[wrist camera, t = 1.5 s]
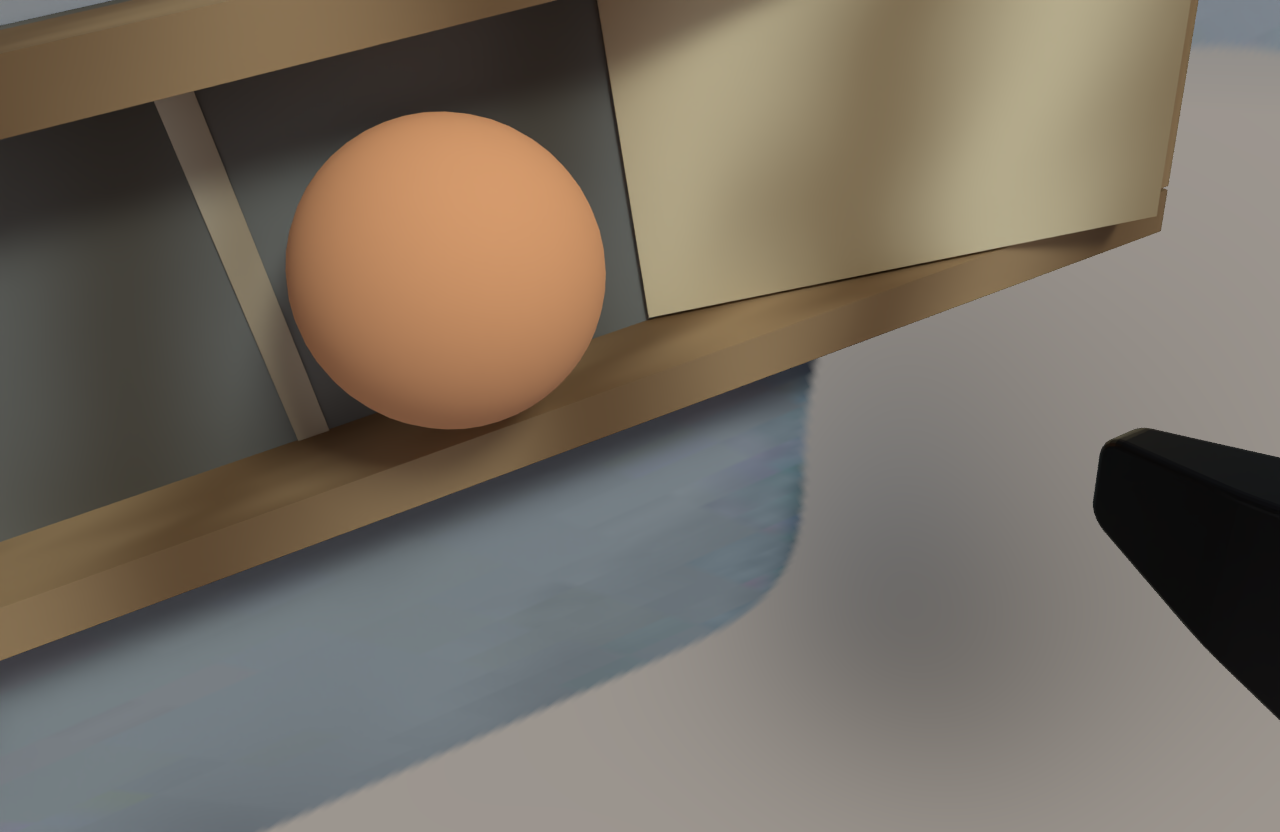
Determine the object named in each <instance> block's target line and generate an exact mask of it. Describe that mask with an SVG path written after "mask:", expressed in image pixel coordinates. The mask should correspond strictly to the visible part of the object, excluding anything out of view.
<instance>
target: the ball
mask: <svg viewBox="0 0 1280 832" xmlns="http://www.w3.org/2000/svg"><path fill="white" fill-rule="evenodd" d="M285 272H286V281H287V289H288V297H289V302H290V306H291V309H292V313H293V316H294V319H295V322H296V324H297V326H298V328H299V331H300V333H301V335H302V337H303V339H304V342H305V344H306V346H307V347H308V349H309V350H310V352H311V353H312V355H313V357H314V358H315V360H316V361H317V363H318V364H319V365H320V366H321V367H322V368H323V370H324V371H325V372H326V373H327V374H328V375H329V376H330V378H331V379H332V380H333V381H334V382H335V383H336V384H337V385H338V386H340V387H341V388H342V389H343V390H344V391H345V392H346V393H348V394H349V395H350V396H351V397H353V398H354V399H356V400H358V401H359V402H361V403H362V404H364V405H365V406H367V407H369V408H370V409H372V410H374V411H376V412H378V413H380V414H382V415H384V416H386V417H388V418H391V419H394V420H397V421H400V422H403V423H406V424H411V425H416V426H421V427H427V428H435V429H467V428H473V427H480V426H484V425H488V424H492V423H496V422H499V421H502V420H504V419H507V418H509V417H512V416H514V415H517V414H519V413H520V412H522V411H524V410H526V409H528V408H530V407H532V406H533V405H535V404H536V403H538V402H539V401H541V400H542V399H544V398H545V397H546V396H547V395H548V394H550V393H551V392H552V391H553V390H554V389H556V388H557V387H558V386H559V385H560V384H561V383H562V382H563V381H564V380H565V379H566V377H567V376H568V375H569V374H570V373H571V372H572V370H573V369H574V368H575V366H576V365H577V364H578V363H579V361H580V360H581V358H582V356H583V355H584V353H585V351H586V350H587V348H588V346H589V344H590V342H591V340H592V337H593V335H594V333H595V331H596V327H597V324H598V321H599V318H600V314H601V310H602V306H603V300H604V294H605V281H606V269H605V258H604V248H603V243H602V239H601V234H600V230H599V227H598V225H597V222H596V219H595V217H594V214H593V211H592V209H591V207H590V205H589V203H588V201H587V199H586V197H585V195H584V194H583V192H582V190H581V188H580V187H579V185H578V184H577V183H576V181H575V180H574V179H573V177H572V176H571V175H570V173H569V172H568V171H567V170H566V169H565V167H564V166H563V165H562V164H561V163H560V162H559V161H558V160H557V159H556V158H555V157H554V156H553V155H552V154H551V153H550V152H549V151H547V150H546V149H545V148H544V147H542V146H541V145H540V144H538V143H537V142H536V141H534V140H533V139H531V138H529V137H528V136H526V135H524V134H522V133H521V132H519V131H517V130H515V129H514V128H512V127H510V126H507V125H505V124H502V123H500V122H497V121H495V120H492V119H489V118H484V117H480V116H476V115H472V114H466V113H456V112H446V111H443V112H422V113H417V114H411V115H405V116H401V117H398V118H395V119H392V120H389V121H385V122H383V123H381V124H379V125H376V126H374V127H372V128H370V129H368V130H366V131H364V132H362V133H361V134H359V135H358V136H356V137H355V138H353V139H351V140H350V141H348V142H347V143H346V144H345V145H343V146H342V147H341V148H340V149H339V150H338V151H336V152H335V153H334V154H333V155H332V156H331V157H330V158H329V159H328V160H327V161H326V162H325V163H324V165H323V166H322V167H321V168H320V169H319V170H318V171H317V173H316V174H315V176H314V177H313V179H312V180H311V182H310V183H309V185H308V186H307V188H306V189H305V192H304V194H303V196H302V198H301V200H300V202H299V204H298V206H297V209H296V212H295V215H294V218H293V221H292V224H291V227H290V231H289V236H288V242H287V248H286V268H285Z"/></svg>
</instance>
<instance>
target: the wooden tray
mask: <svg viewBox="0 0 1280 832" xmlns="http://www.w3.org/2000/svg"><path fill="white" fill-rule="evenodd" d="M1197 6H1198V0H113V1H108V2H104V3H100V4H95V5H91V6H86V7H82V8H77V9H73V10H68V11H64V12H59V13H55V14H51V15H46V16H42V17H37V18H33V19H28V20H24V21H19V22H15V23H10V24H6V25H2V26H0V661H1V660H3V659H6V658H9V657H12V656H14V655H17V654H20V653H22V652H25V651H28V650H30V649H33V648H36V647H39V646H41V645H44V644H47V643H49V642H52V641H55V640H57V639H60V638H63V637H66V636H68V635H71V634H74V633H76V632H79V631H82V630H85V629H87V628H90V627H93V626H95V625H98V624H101V623H103V622H106V621H109V620H112V619H114V618H117V617H120V616H122V615H125V614H128V613H130V612H133V611H136V610H139V609H141V608H144V607H147V606H149V605H152V604H155V603H157V602H160V601H163V600H166V599H168V598H171V597H174V596H176V595H179V594H182V593H184V592H187V591H190V590H193V589H195V588H198V587H201V586H203V585H206V584H209V583H211V582H214V581H217V580H220V579H222V578H225V577H228V576H230V575H233V574H236V573H238V572H241V571H244V570H247V569H249V568H252V567H255V566H257V565H260V564H263V563H265V562H268V561H271V560H274V559H276V558H279V557H282V556H284V555H287V554H290V553H292V552H295V551H298V550H301V549H303V548H306V547H309V546H311V545H314V544H317V543H319V542H322V541H325V540H328V539H330V538H333V537H336V536H338V535H341V534H344V533H346V532H349V531H352V530H355V529H357V528H360V527H363V526H365V525H368V524H371V523H373V522H376V521H379V520H382V519H384V518H387V517H390V516H392V515H395V514H398V513H401V512H403V511H406V510H409V509H411V508H414V507H417V506H419V505H422V504H425V503H428V502H430V501H433V500H436V499H438V498H441V497H444V496H446V495H449V494H452V493H455V492H457V491H460V490H463V489H465V488H468V487H471V486H473V485H476V484H479V483H482V482H484V481H487V480H490V479H492V478H495V477H498V476H500V475H503V474H506V473H509V472H511V471H514V470H517V469H519V468H522V467H525V466H527V465H530V464H533V463H536V462H538V461H541V460H544V459H546V458H549V457H552V456H554V455H557V454H560V453H563V452H565V451H568V450H571V449H573V448H576V447H579V446H581V445H584V444H587V443H590V442H592V441H595V440H598V439H600V438H603V437H606V436H608V435H611V434H614V433H617V432H619V431H622V430H625V429H627V428H630V427H633V426H635V425H638V424H641V423H644V422H646V421H649V420H652V419H654V418H657V417H660V416H662V415H665V414H668V413H671V412H673V411H676V410H679V409H681V408H684V407H687V406H689V405H692V404H695V403H698V402H700V401H703V400H706V399H708V398H711V397H714V396H717V395H719V394H722V393H725V392H727V391H730V390H733V389H735V388H738V387H741V386H744V385H746V384H749V383H752V382H754V381H757V380H760V379H762V378H765V377H768V376H771V375H773V374H776V373H779V372H781V371H784V370H787V369H789V368H792V367H795V366H798V365H800V364H803V363H806V362H808V361H811V360H814V359H816V358H819V357H822V356H825V355H827V354H830V353H833V352H835V351H838V350H841V349H843V348H846V347H848V346H852V345H854V344H857V343H859V342H862V341H865V340H868V339H870V338H873V337H875V336H879V335H881V334H884V333H887V332H889V331H892V330H894V329H897V328H900V327H903V326H906V325H908V324H911V323H914V322H916V321H919V320H922V319H924V318H927V317H930V316H933V315H935V314H938V313H941V312H943V311H946V310H949V309H951V308H954V307H957V306H959V305H962V304H965V303H968V302H970V301H973V300H976V299H978V298H981V297H984V296H987V295H989V294H992V293H995V292H997V291H1000V290H1003V289H1005V288H1008V287H1011V286H1014V285H1016V284H1019V283H1021V282H1024V281H1027V280H1030V279H1032V278H1035V277H1037V276H1041V275H1043V274H1046V273H1049V272H1051V271H1054V270H1057V269H1059V268H1062V267H1065V266H1067V265H1070V264H1073V263H1076V262H1078V261H1081V260H1084V259H1087V258H1089V257H1092V256H1095V255H1097V254H1100V253H1103V252H1105V251H1108V250H1111V249H1114V248H1116V247H1119V246H1122V245H1124V244H1127V243H1130V242H1132V241H1135V240H1138V239H1140V238H1143V237H1146V236H1149V235H1151V234H1154V233H1157V232H1159V231H1161V226H1162V220H1163V214H1164V208H1165V202H1166V196H1167V190H1166V189H1163V187H1166V186H1168V184H1169V178H1170V171H1171V165H1172V159H1173V153H1174V147H1175V141H1176V135H1177V128H1178V122H1179V116H1180V110H1181V104H1182V98H1183V92H1184V85H1185V79H1186V73H1187V67H1188V61H1189V55H1190V49H1191V43H1192V36H1193V30H1194V24H1195V18H1196V12H1197ZM443 111H446V112H456V113H466V114H472V115H476V116H480V117H484V118H489V119H492V120H495V121H497V122H500V123H502V124H505V125H507V126H510V127H512V128H514V129H515V130H517V131H519V132H521V133H522V134H524V135H526V136H528V137H529V138H531V139H533V140H534V141H536V142H537V143H538V144H540V145H541V146H542V147H544V148H545V149H546V150H547V151H549V152H550V153H551V154H552V155H553V156H554V157H555V158H556V159H557V160H558V161H559V162H560V163H561V164H562V165H563V166H564V167H565V169H566V170H567V171H568V172H569V173H570V175H571V176H572V177H573V179H574V180H575V181H576V183H577V184H578V185H579V187H580V188H581V190H582V192H583V194H584V195H585V197H586V199H587V201H588V203H589V205H590V207H591V209H592V211H593V214H594V217H595V219H596V222H597V225H598V227H599V230H600V234H601V239H602V243H603V248H604V258H605V269H606V281H605V294H604V300H603V306H602V310H601V314H600V318H599V321H598V324H597V327H596V331H595V333H594V335H593V337H592V340H591V342H590V344H589V346H588V348H587V350H586V351H585V353H584V355H583V356H582V358H581V360H580V361H579V363H578V364H577V365H576V366H575V368H574V369H573V370H572V372H571V373H570V374H569V375H568V376H567V377H566V379H565V380H564V381H563V382H562V383H561V384H560V385H559V386H558V387H557V388H556V389H554V390H553V391H552V392H551V393H550V394H548V395H547V396H546V397H545V398H544V399H542V400H541V401H539V402H538V403H536V404H535V405H533V406H532V407H530V408H528V409H526V410H524V411H522V412H520V413H519V414H517V415H514V416H512V417H509V418H507V419H504V420H502V421H499V422H496V423H492V424H488V425H484V426H480V427H473V428H467V429H435V428H427V427H421V426H416V425H411V424H406V423H403V422H400V421H397V420H394V419H391V418H388V417H386V416H384V415H382V414H380V413H378V412H376V411H374V410H372V409H370V408H369V407H367V406H365V405H364V404H362V403H361V402H359V401H358V400H356V399H354V398H353V397H351V396H350V395H349V394H348V393H346V392H345V391H344V390H343V389H342V388H341V387H340V386H338V385H337V384H336V383H335V382H334V381H333V380H332V379H331V378H330V376H329V375H328V374H327V373H326V372H325V371H324V370H323V368H322V367H321V366H320V365H319V364H318V363H317V361H316V360H315V358H314V357H313V355H312V353H311V352H310V350H309V349H308V347H307V346H306V344H305V342H304V339H303V337H302V335H301V333H300V331H299V328H298V326H297V324H296V322H295V319H294V316H293V313H292V309H291V306H290V302H289V297H288V289H287V281H286V272H285V268H286V248H287V242H288V236H289V231H290V227H291V224H292V221H293V218H294V215H295V212H296V209H297V206H298V204H299V202H300V200H301V198H302V196H303V194H304V192H305V189H306V188H307V186H308V185H309V183H310V182H311V180H312V179H313V177H314V176H315V174H316V173H317V171H318V170H319V169H320V168H321V167H322V166H323V165H324V163H325V162H326V161H327V160H328V159H329V158H330V157H331V156H332V155H333V154H334V153H335V152H336V151H338V150H339V149H340V148H341V147H342V146H343V145H345V144H346V143H347V142H348V141H350V140H351V139H353V138H355V137H356V136H358V135H359V134H361V133H362V132H364V131H366V130H368V129H370V128H372V127H374V126H376V125H379V124H381V123H383V122H385V121H389V120H392V119H395V118H398V117H401V116H405V115H411V114H417V113H422V112H443Z"/></svg>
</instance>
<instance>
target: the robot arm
mask: <svg viewBox="0 0 1280 832" xmlns="http://www.w3.org/2000/svg"><path fill="white" fill-rule="evenodd" d="M1093 508H1094V513H1095V516H1096V519H1097V521H1098V523H1099V524H1100V526H1101V528H1102V529H1103V530H1104V532H1105V533H1106V534H1107V535H1108V536H1109V537H1110V539H1111V540H1112V541H1113V542H1114V543H1115V544H1116V546H1117V547H1118V548H1119V549H1120V550H1121V551H1122V553H1123V554H1124V555H1125V556H1126V557H1127V558H1128V560H1129V561H1130V562H1131V563H1132V564H1133V565H1134V567H1135V568H1136V569H1137V570H1138V571H1139V572H1140V574H1141V575H1142V576H1143V577H1144V578H1145V579H1146V580H1147V582H1148V583H1149V584H1150V585H1151V586H1152V587H1153V589H1154V590H1155V591H1156V592H1157V593H1158V594H1159V596H1160V597H1161V598H1162V599H1163V600H1164V601H1165V603H1166V604H1167V605H1168V606H1169V607H1170V609H1171V610H1172V611H1173V612H1174V613H1175V614H1176V615H1177V617H1178V618H1179V619H1180V620H1181V621H1182V623H1183V624H1184V625H1185V626H1186V627H1187V628H1188V629H1189V630H1190V632H1191V633H1192V634H1193V635H1194V636H1195V637H1196V638H1197V639H1198V640H1199V641H1200V643H1201V644H1202V645H1203V646H1204V647H1205V648H1206V649H1207V650H1208V651H1209V652H1210V653H1211V654H1212V655H1213V656H1214V657H1215V658H1216V659H1217V660H1218V661H1219V662H1220V663H1221V664H1222V665H1223V666H1224V667H1225V668H1226V669H1227V670H1228V671H1229V672H1230V673H1231V674H1232V675H1233V676H1234V677H1235V678H1236V679H1237V680H1238V681H1240V682H1241V683H1242V684H1243V685H1244V686H1245V687H1246V688H1247V689H1248V690H1249V691H1250V692H1251V693H1252V694H1253V695H1254V696H1255V697H1256V698H1257V699H1258V700H1259V701H1260V702H1261V703H1262V704H1263V705H1264V706H1266V707H1267V708H1268V709H1269V710H1270V711H1271V712H1272V713H1273V714H1274V715H1275V716H1276V717H1277V718H1278V719H1279V720H1280V458H1279V457H1275V456H1270V455H1266V454H1261V453H1257V452H1253V451H1247V450H1243V449H1239V448H1235V447H1230V446H1225V445H1221V444H1217V443H1212V442H1208V441H1203V440H1198V439H1195V438H1190V437H1186V436H1181V435H1177V434H1172V433H1168V432H1163V431H1159V430H1155V429H1149V428H1139V429H1134V430H1132V431H1129V432H1127V433H1125V434H1123V435H1120V436H1118V437H1116V438H1113V439H1111V440H1109V441H1108V442H1106V443H1105V445H1104V446H1103V447H1102V449H1101V452H1100V456H1099V464H1098V471H1097V478H1096V485H1095V492H1094V499H1093Z"/></svg>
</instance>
